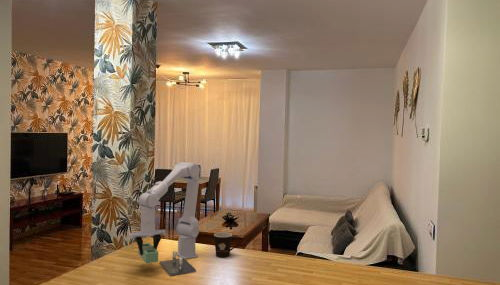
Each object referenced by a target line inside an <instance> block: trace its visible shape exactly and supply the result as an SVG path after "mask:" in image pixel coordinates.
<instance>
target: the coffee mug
mask: <svg viewBox="0 0 500 285" xmlns="http://www.w3.org/2000/svg"><path fill="white" fill-rule="evenodd" d="M213 238H214V247H215V257H217V258H220V259H225V258H226V259H227V258H229V257H230V254H231V251H232V250H233V249H235V248H237V247H239V245H240V244H241V240H240V238H239V237H233V234H232V233H231V232H227V231H226V232H225V231H223V232H222V231H221V232H216V233H213ZM233 240H238V243H237V244H236V245H235V246H233V247H231V246H232V242H233Z"/></svg>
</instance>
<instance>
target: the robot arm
mask: <svg viewBox="0 0 500 285" xmlns="http://www.w3.org/2000/svg"><path fill="white" fill-rule="evenodd" d="M200 169H201V168H200V166H198V164H197V163H196V162H193V163H192V162H185V161H184V162H183V161H179V162H178V163H176V164H175V165H174V166H173V170H171V172H170V173H169V174H168V175H167V176H165V178H164V179H163V180H162V181H161V180H159V181H156V182H155V183H154V185H153V186H152V187H151V188H150V189H148V190H147V192H143V193H142V194H140V195H139V197H138V199H137V202H138V203H137V204H138V205H139V208H140V230H139V231H137V232H136V231H135V232H132V233H131V232H130V233H129V239H130V240H133V239H135V241H136V242H135V243H136V244H137V247H139V251H140V255H143V249H142V247H143V244H144V240H143V238H148V237H152V242H153V244H152V246H153V247H154V248H155V249H156V250H157V251H158V247H159V243H160V242H161V240H162V236H166V232H167V231H166V229H156V206H158V204H159V201H160V199H161V198H162V197H163V196H164V195H165V194H166V193H167V192H168V191H169V187H170V186H171V185H172V184H173V183H175V182H176V181H178V180H179V179H180V178H183V179H184V180H185V182H186V183H187V184H186V191H185V199H184V206H183V213H182V214H183V215H182V216H181V217H180V218H179V219H178V223H177V225H176V228H175V230H176V233H177V234H178V240H177V251H176V256H178V257H179V258H184V259H185V260H187V259H194V258H198V257H199V255H198V254H197V253H196V238H197V237H198V235H199V233H200V228H199V226H200V225H199V223H200V222H199V220H198V219H197V217H196V210H197V202H198V194H199V192H198V191H199V185H200V172H201V171H200ZM140 255H139V256H140Z"/></svg>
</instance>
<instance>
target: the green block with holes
mask: <svg viewBox="0 0 500 285" xmlns="http://www.w3.org/2000/svg"><path fill="white" fill-rule="evenodd" d="M137 247H138V246H137ZM142 249H143V255H140V251H139V247H138V250H137V251H138V255H139V256H140V258H141V259H142V261H144V263H145V264H152V263H158V262H159V251H158V249H157V250H156V249H155V248H154V247H153V244H152V243H151V242H145V243H143V247H142Z"/></svg>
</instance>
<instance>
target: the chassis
mask: <svg viewBox="0 0 500 285" xmlns="http://www.w3.org/2000/svg"><path fill="white" fill-rule="evenodd" d="M176 252H177V251H175V250H174V251H172V259H169V260H168V259H167V260H161V261H159V265H160V266H161V267H162V268H163V270H164V271H165V272H166V273H167V274H168V276H169V277H173V276H181V275H185V274H186V275H187V274H191V273H196V272H197V269H196V268H195V267H194V266H193V265H192V263H191V264H190V263H189V261H187V259H184V258H180V257H179V258H177V254H176Z"/></svg>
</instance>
